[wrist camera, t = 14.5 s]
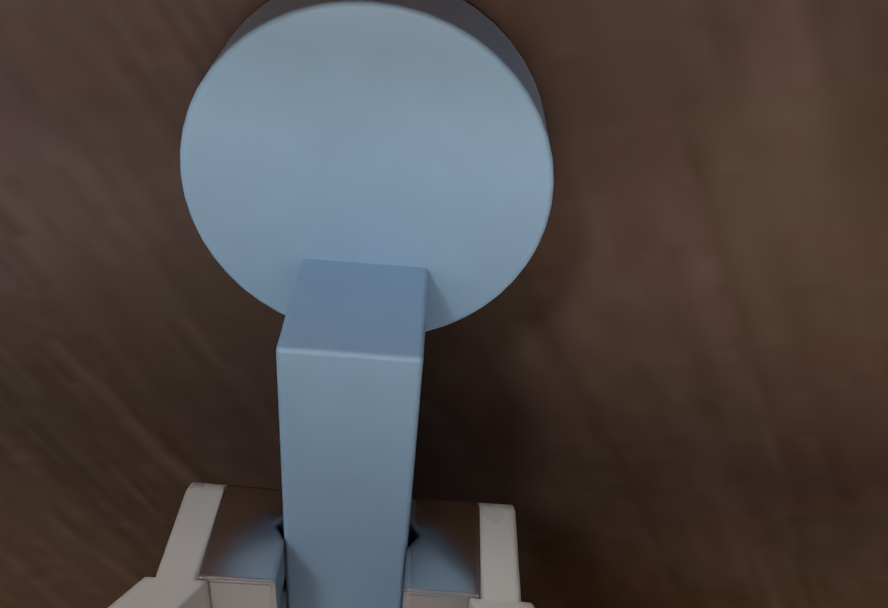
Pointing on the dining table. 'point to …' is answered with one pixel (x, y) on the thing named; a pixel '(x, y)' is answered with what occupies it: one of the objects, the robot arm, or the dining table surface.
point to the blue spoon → (363, 241)
